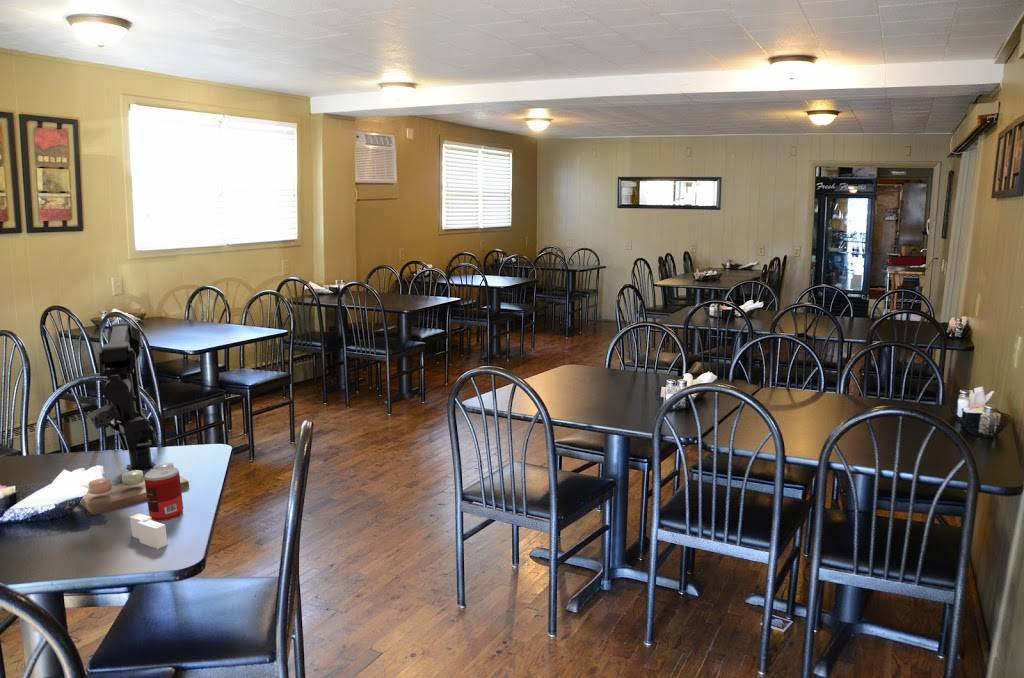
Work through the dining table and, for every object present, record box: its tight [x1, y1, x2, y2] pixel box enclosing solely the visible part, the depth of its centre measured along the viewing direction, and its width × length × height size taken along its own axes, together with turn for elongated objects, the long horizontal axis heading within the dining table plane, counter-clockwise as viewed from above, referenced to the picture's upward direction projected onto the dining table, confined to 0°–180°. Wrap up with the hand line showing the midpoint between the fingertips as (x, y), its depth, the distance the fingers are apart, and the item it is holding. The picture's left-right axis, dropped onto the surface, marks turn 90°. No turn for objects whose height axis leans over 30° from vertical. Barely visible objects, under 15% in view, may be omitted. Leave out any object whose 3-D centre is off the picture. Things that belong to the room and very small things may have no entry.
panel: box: [80, 474, 190, 516], centre depth 213 cm, size 12×24×2 cm, turn 133°
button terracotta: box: [88, 477, 112, 494], centre depth 207 cm, size 5×5×3 cm
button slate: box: [152, 462, 174, 470], centre depth 218 cm, size 5×5×3 cm
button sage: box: [121, 470, 144, 486], centre depth 212 cm, size 5×5×3 cm
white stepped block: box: [129, 512, 168, 550], centre depth 185 cm, size 15×11×6 cm
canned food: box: [143, 467, 184, 522], centre depth 198 cm, size 8×8×11 cm
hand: (129, 451), depth 211 cm, fingers open, 3 cm apart
